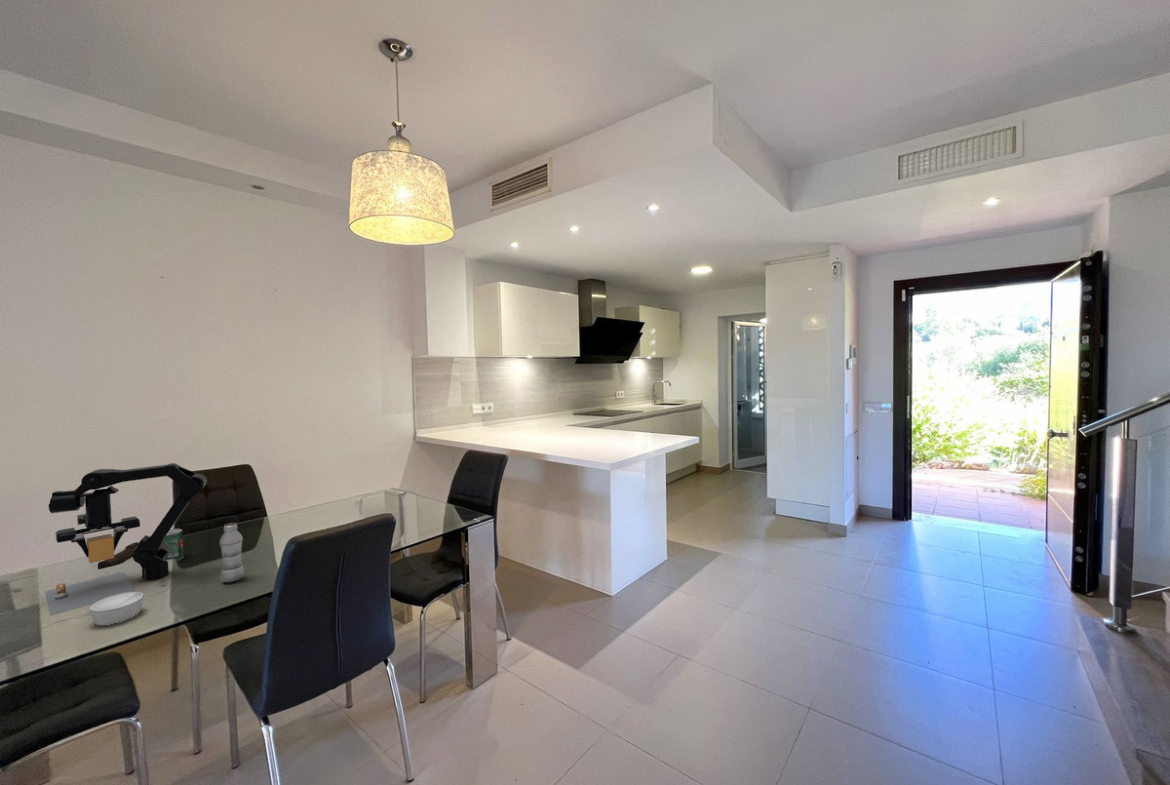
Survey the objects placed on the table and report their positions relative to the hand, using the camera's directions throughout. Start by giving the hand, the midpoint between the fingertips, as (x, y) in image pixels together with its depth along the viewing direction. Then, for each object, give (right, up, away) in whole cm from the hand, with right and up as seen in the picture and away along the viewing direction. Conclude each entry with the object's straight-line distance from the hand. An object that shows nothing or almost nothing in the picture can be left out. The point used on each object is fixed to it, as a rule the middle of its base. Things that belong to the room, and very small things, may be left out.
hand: (100, 553), depth 150 cm
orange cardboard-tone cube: (0, -2, 0) cm, 2 cm away
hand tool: (-19, -12, +25) cm, 33 cm away
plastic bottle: (+38, -12, +8) cm, 41 cm away
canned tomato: (0, -12, +25) cm, 28 cm away
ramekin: (+22, -14, -16) cm, 31 cm away
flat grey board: (0, -13, -3) cm, 13 cm away
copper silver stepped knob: (-5, -11, -7) cm, 14 cm away
